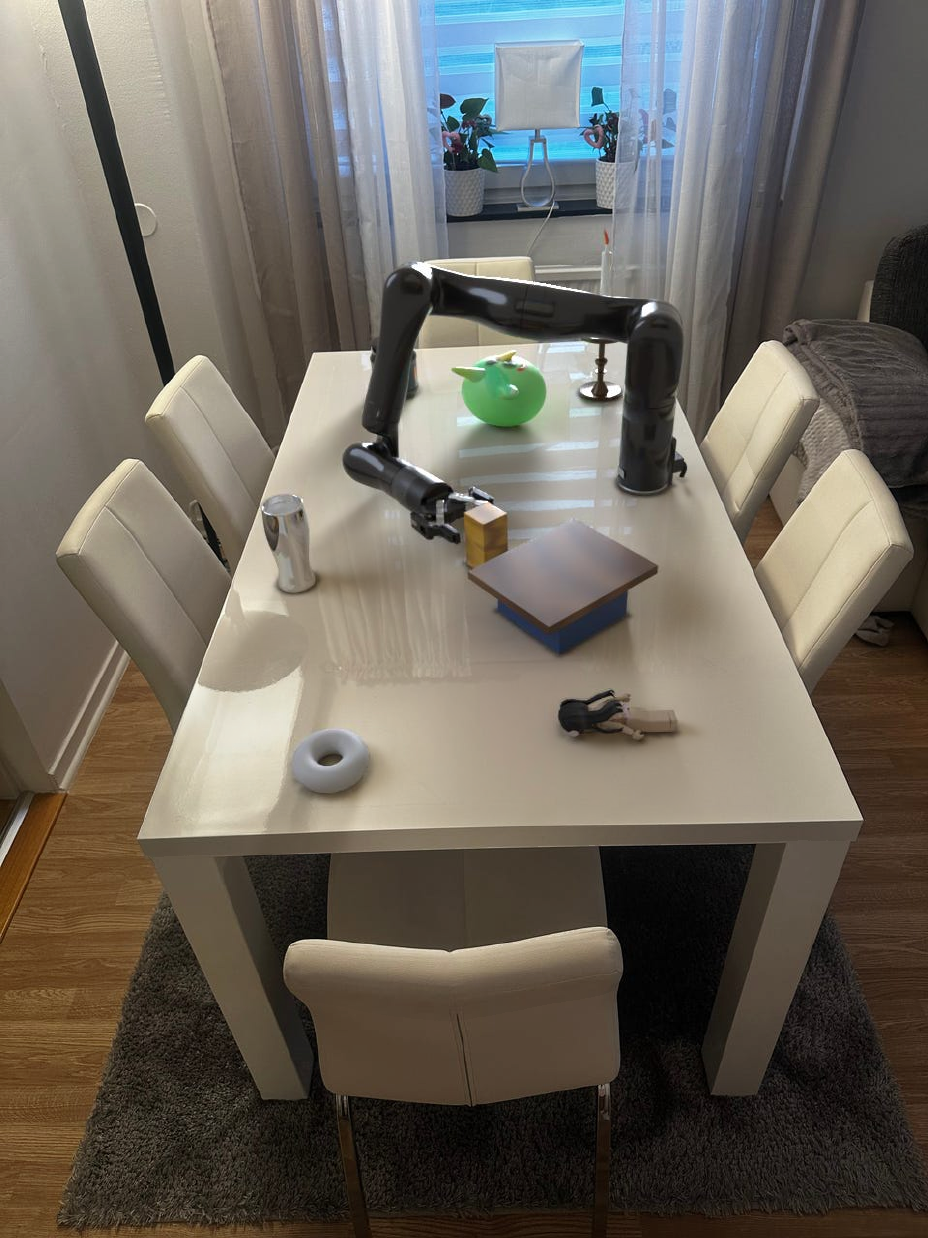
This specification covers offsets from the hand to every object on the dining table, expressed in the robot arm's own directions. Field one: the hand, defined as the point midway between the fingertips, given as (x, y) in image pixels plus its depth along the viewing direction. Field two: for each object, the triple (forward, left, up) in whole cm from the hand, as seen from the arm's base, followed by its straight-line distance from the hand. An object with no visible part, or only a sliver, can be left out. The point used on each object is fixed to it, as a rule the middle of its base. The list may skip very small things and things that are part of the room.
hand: (479, 529), depth 147 cm
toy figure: (-4, +44, -6) cm, 44 cm away
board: (-7, +19, +1) cm, 20 cm away
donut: (+33, +38, -6) cm, 51 cm away
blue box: (-7, +19, -6) cm, 21 cm away
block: (-1, +2, -6) cm, 6 cm away
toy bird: (-22, -47, -6) cm, 52 cm away
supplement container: (-5, -72, -6) cm, 73 cm away
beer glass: (+30, -5, -6) cm, 31 cm away
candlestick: (-47, -52, -6) cm, 70 cm away
